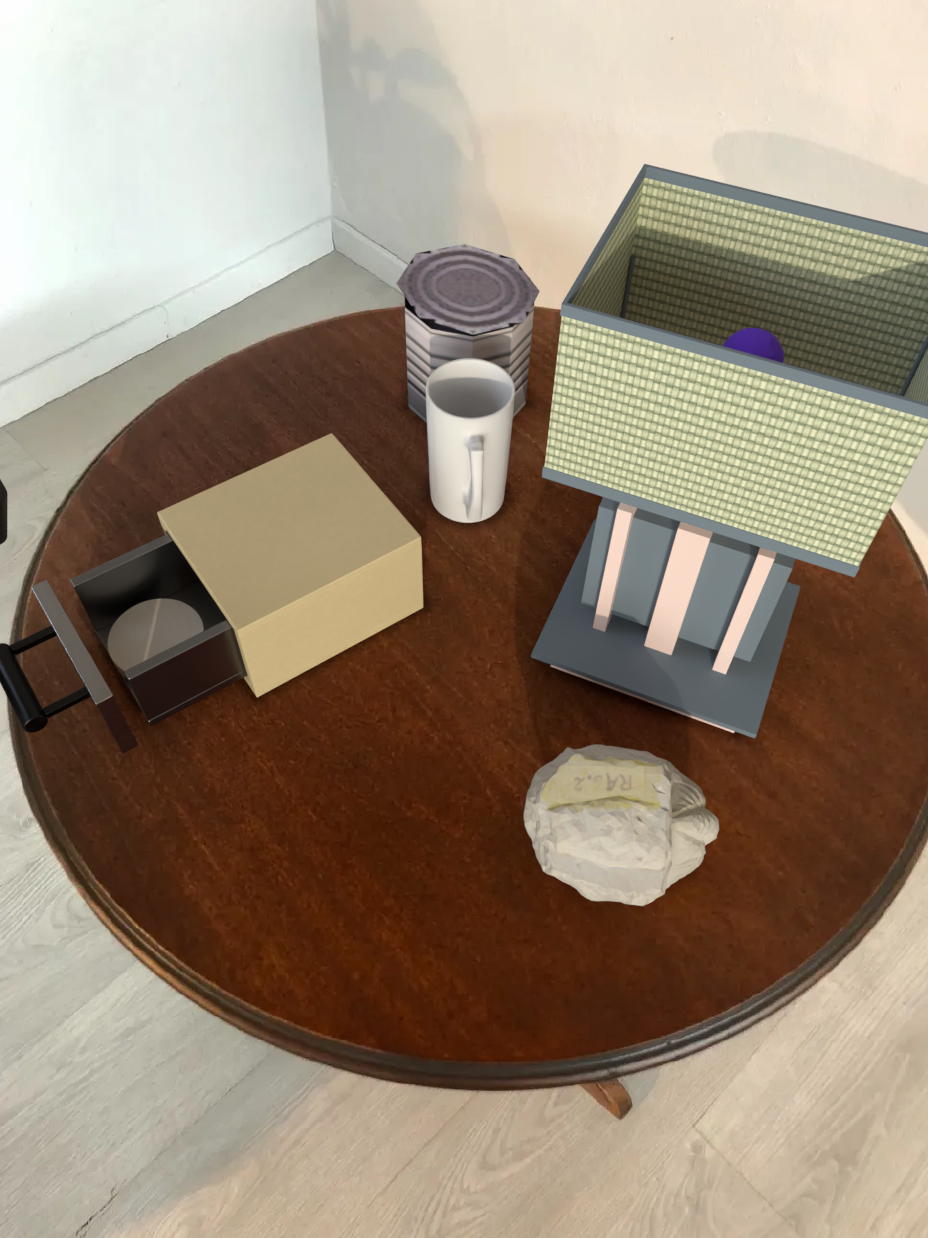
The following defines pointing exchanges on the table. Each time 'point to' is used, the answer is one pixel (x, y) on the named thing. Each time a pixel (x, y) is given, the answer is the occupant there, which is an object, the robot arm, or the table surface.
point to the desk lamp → (727, 430)
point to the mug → (469, 437)
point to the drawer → (153, 682)
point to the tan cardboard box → (300, 558)
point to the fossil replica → (617, 823)
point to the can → (466, 316)
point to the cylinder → (151, 631)
